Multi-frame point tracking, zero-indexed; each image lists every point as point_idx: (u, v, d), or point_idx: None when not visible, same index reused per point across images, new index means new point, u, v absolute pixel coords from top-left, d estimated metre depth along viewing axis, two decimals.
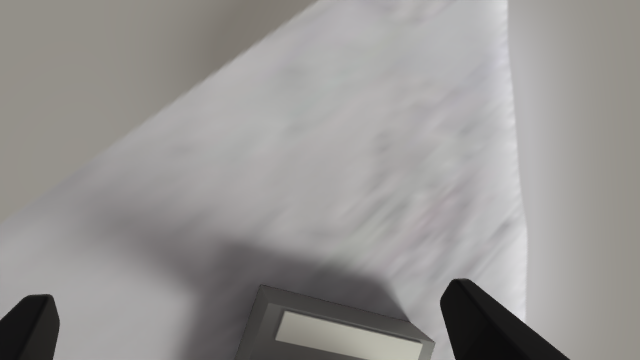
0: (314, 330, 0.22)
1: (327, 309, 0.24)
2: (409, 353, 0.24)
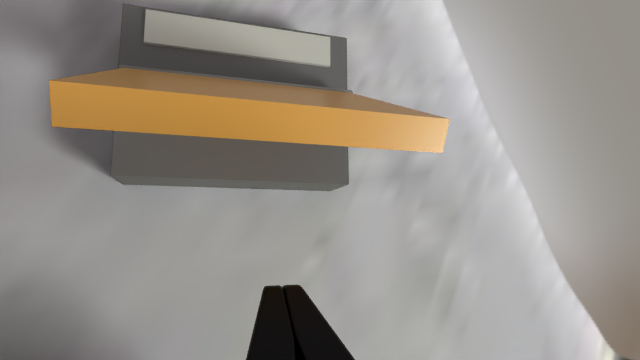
0: (189, 28, 0.19)
1: None
2: (317, 48, 0.21)
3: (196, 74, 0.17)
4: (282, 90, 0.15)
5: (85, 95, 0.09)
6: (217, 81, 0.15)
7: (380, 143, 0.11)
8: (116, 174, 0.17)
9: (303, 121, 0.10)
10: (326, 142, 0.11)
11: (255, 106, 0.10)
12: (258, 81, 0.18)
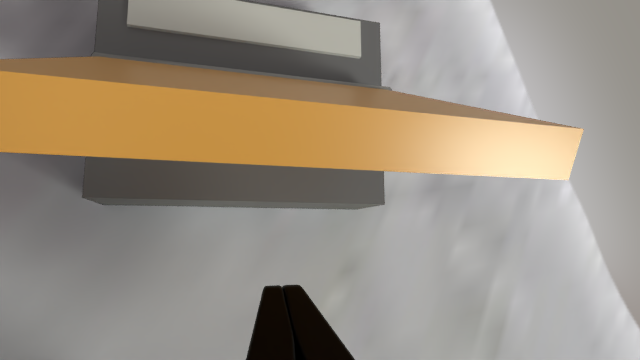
0: (186, 7, 0.15)
1: None
2: (345, 34, 0.17)
3: (194, 65, 0.13)
4: (312, 86, 0.11)
5: None
6: (222, 73, 0.11)
7: (482, 167, 0.07)
8: (90, 196, 0.13)
9: (366, 134, 0.06)
10: (402, 167, 0.07)
11: (292, 110, 0.06)
12: (274, 75, 0.14)
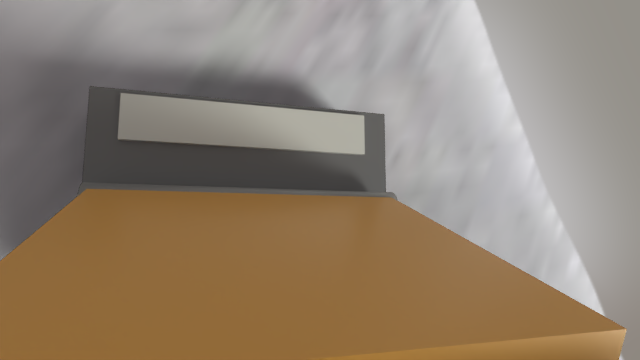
0: (180, 115, 0.14)
1: None
2: (348, 131, 0.16)
3: (189, 189, 0.13)
4: (315, 231, 0.10)
5: None
6: (218, 215, 0.10)
7: None
8: None
9: None
10: None
11: None
12: (273, 192, 0.13)
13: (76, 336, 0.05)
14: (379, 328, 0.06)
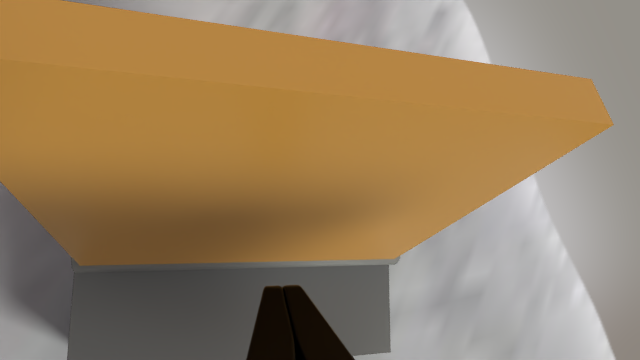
0: None
1: None
2: None
3: None
4: None
5: None
6: None
7: (515, 106, 0.06)
8: None
9: (381, 68, 0.06)
10: (430, 99, 0.06)
11: (298, 42, 0.06)
12: None
13: None
14: None
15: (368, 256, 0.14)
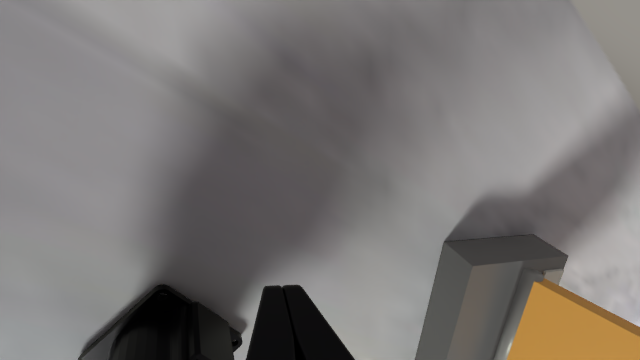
0: None
1: None
2: None
3: None
4: None
5: None
6: None
7: None
8: (472, 269, 0.25)
9: None
10: None
11: None
12: None
13: None
14: None
15: None
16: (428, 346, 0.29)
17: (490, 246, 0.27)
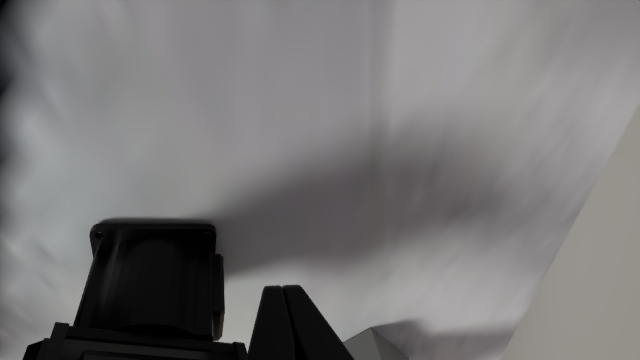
0: None
1: None
2: None
3: None
4: None
5: None
6: None
7: None
8: None
9: None
10: None
11: None
12: None
13: None
14: None
15: None
16: None
17: (390, 351, 0.35)
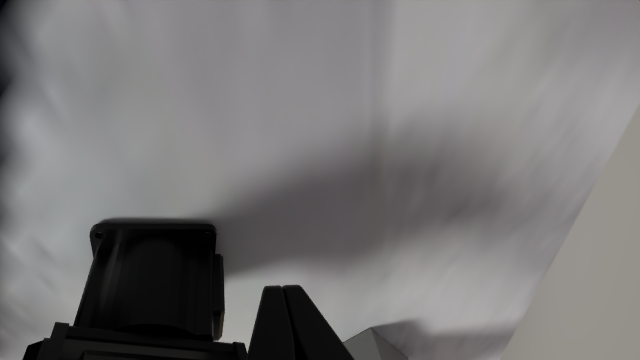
0: None
1: None
2: None
3: None
4: None
5: None
6: None
7: None
8: None
9: None
10: None
11: None
12: None
13: None
14: None
15: None
16: None
17: (389, 351, 0.35)
